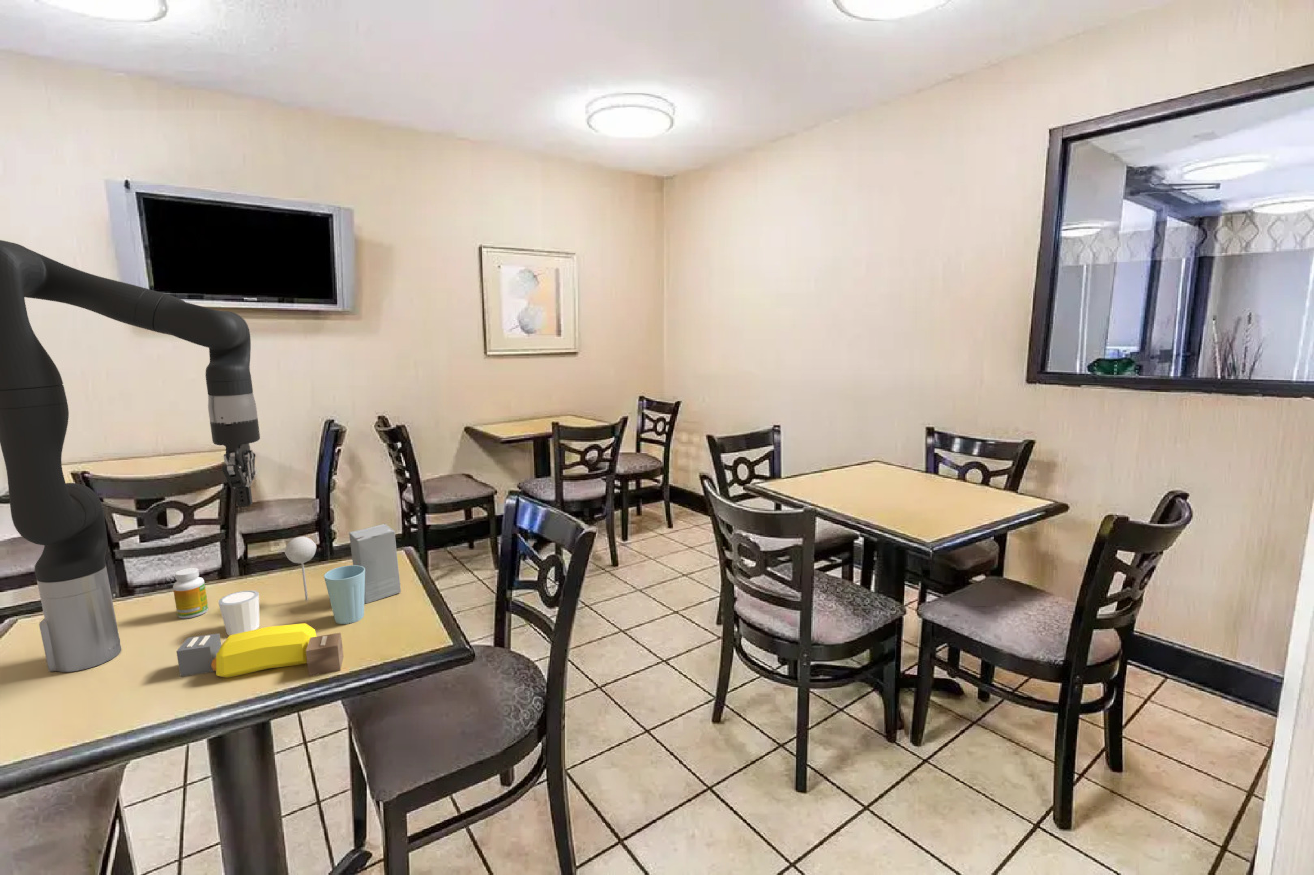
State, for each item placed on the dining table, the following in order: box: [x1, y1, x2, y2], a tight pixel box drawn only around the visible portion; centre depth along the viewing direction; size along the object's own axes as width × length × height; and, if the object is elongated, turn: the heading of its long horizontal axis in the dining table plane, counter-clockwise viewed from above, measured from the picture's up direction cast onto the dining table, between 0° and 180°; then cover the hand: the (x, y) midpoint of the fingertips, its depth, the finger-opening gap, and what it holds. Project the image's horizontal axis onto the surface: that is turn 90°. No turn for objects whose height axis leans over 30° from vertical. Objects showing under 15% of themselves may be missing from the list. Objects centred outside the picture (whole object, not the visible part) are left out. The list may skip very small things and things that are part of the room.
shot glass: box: [217, 589, 260, 636], centre depth 125 cm, size 7×7×7 cm
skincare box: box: [348, 523, 402, 605], centre depth 139 cm, size 8×7×16 cm
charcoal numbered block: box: [176, 633, 222, 678], centre depth 111 cm, size 5×5×5 cm
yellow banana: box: [211, 622, 317, 679], centre depth 112 cm, size 18×7×8 cm
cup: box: [323, 564, 365, 625], centre depth 129 cm, size 8×8×10 cm
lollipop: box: [284, 536, 317, 602], centre depth 137 cm, size 6×6×15 cm
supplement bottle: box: [172, 567, 209, 619], centre depth 131 cm, size 5×5×10 cm
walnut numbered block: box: [306, 632, 344, 677], centre depth 111 cm, size 5×5×5 cm
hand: (245, 505), depth 119 cm, fingers closed
